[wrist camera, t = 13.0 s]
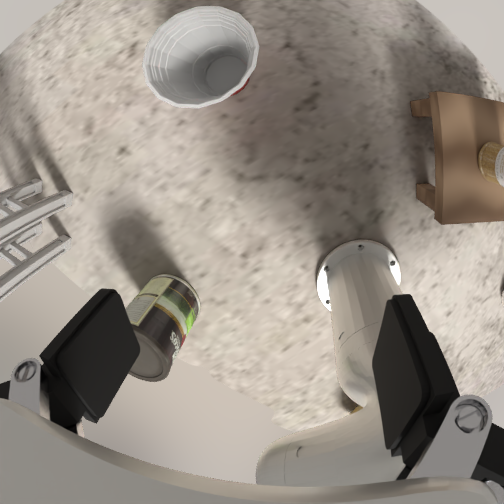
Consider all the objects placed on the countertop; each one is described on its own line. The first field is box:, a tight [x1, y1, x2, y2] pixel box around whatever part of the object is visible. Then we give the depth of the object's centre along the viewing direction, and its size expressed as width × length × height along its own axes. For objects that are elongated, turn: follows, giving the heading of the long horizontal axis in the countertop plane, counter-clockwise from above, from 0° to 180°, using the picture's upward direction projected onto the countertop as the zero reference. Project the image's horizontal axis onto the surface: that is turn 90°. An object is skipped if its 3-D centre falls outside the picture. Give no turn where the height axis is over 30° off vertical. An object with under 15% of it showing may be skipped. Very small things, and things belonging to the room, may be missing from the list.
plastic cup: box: [142, 6, 259, 109], centre depth 25 cm, size 11×11×12 cm
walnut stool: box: [410, 91, 504, 225], centre depth 25 cm, size 14×14×9 cm
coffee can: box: [125, 274, 200, 382], centre depth 40 cm, size 10×10×14 cm
